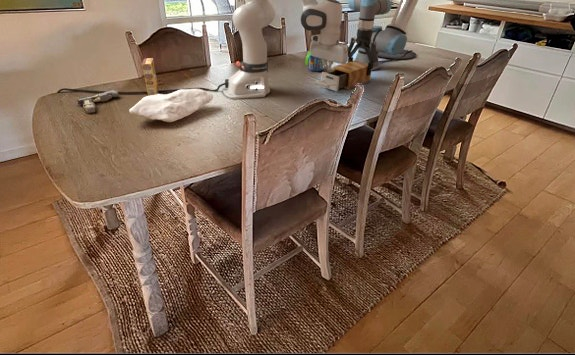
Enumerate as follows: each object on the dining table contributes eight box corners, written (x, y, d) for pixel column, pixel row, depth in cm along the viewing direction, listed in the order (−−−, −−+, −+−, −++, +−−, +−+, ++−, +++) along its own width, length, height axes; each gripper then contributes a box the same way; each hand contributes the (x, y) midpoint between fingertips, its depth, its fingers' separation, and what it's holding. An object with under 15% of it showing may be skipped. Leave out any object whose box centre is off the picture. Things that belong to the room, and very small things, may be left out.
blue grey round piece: (426, 55, 246) (429, 41, 242) (391, 61, 229) (393, 46, 224) (387, 47, 271) (389, 34, 267) (353, 52, 254) (354, 38, 249)
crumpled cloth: (117, 110, 146) (113, 90, 140) (195, 92, 166) (194, 73, 160) (143, 139, 134) (140, 118, 128) (223, 116, 154) (224, 96, 148)
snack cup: (320, 65, 217) (322, 48, 212) (332, 70, 210) (333, 52, 204) (299, 69, 210) (300, 51, 204) (310, 74, 202) (311, 55, 197)
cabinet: (348, 89, 183) (350, 71, 178) (331, 83, 190) (332, 66, 185) (369, 81, 195) (372, 64, 190) (352, 76, 202) (354, 60, 197)
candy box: (157, 97, 164) (152, 63, 155) (147, 98, 163) (141, 63, 155) (158, 91, 171) (153, 57, 163) (149, 91, 170) (143, 58, 162)
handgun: (128, 97, 156) (111, 87, 164) (86, 107, 144) (70, 97, 152) (129, 103, 157) (113, 94, 165) (88, 114, 146) (72, 103, 154)
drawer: (328, 94, 173) (330, 79, 170) (312, 88, 179) (313, 74, 175) (357, 83, 188) (359, 70, 185) (342, 79, 194) (343, 66, 190)
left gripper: (352, 42, 161) (348, 73, 169) (317, 34, 173) (315, 63, 180) (344, 44, 157) (340, 75, 165) (308, 35, 169) (306, 65, 176)
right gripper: (389, 32, 178) (381, 76, 190) (350, 24, 191) (345, 66, 203) (381, 33, 173) (373, 79, 185) (341, 26, 187) (337, 68, 198)
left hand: (327, 69), depth 173 cm, fingers closed
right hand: (358, 72), depth 194 cm, fingers closed on cabinet, 11 cm apart
